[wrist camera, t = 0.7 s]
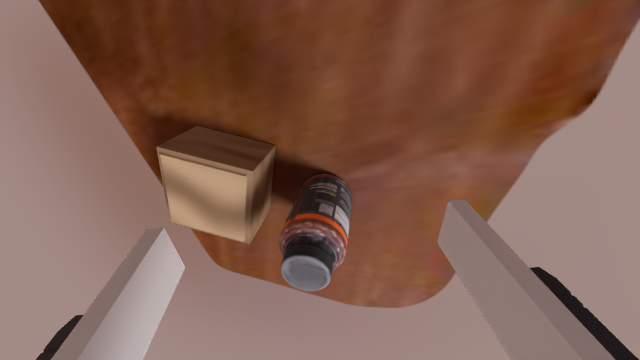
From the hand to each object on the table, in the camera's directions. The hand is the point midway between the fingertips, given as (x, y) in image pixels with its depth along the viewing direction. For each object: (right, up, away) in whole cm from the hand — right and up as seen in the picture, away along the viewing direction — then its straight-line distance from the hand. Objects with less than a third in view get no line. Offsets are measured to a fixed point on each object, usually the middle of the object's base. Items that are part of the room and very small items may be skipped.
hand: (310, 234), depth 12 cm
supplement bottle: (+1, +1, +17) cm, 17 cm away
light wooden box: (-9, +4, +17) cm, 20 cm away
